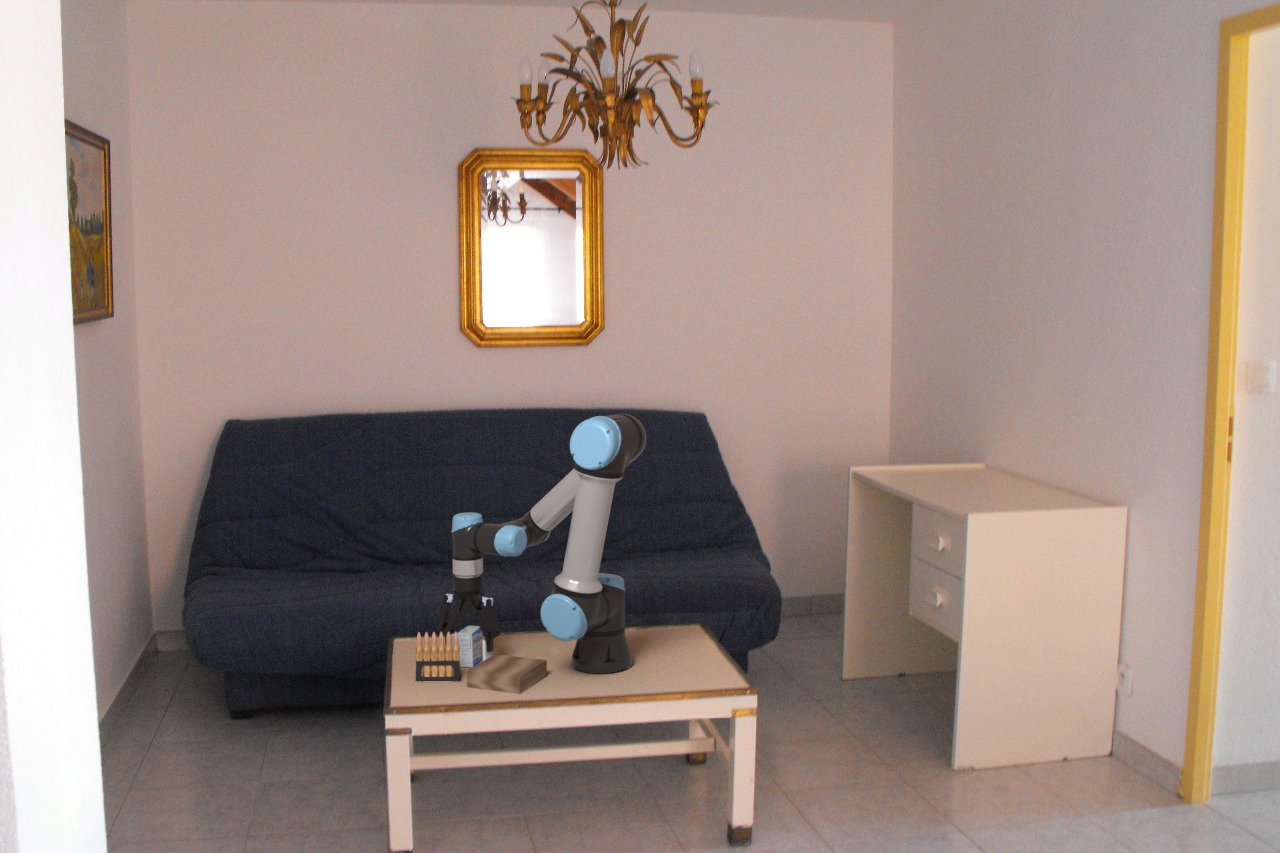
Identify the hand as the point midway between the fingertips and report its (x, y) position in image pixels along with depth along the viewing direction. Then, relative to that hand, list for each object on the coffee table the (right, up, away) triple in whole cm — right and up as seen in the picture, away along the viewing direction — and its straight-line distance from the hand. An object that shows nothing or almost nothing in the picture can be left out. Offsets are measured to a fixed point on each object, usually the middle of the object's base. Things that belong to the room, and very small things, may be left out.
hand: (469, 662), depth 284 cm
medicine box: (0, 0, 0) cm, 0 cm away
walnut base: (+11, -1, -15) cm, 19 cm away
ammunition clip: (-5, -2, -14) cm, 15 cm away
